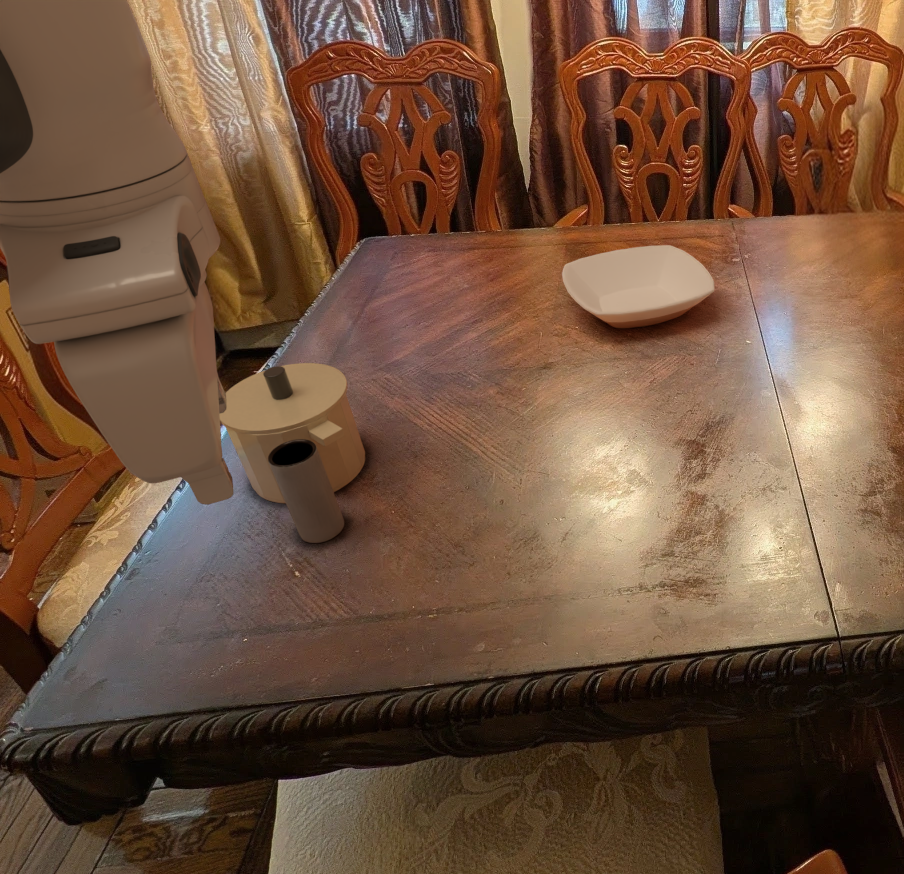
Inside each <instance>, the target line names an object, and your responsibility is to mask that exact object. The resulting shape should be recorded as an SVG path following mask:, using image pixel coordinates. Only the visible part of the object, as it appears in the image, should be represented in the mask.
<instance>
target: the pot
mask: <svg viewBox="0 0 904 874" xmlns="http://www.w3.org/2000/svg"><path fill="white" fill-rule="evenodd" d="M355 420H356V419H355V417H354V413H353V410H352V408H351V405H350V402H349V399H348V395H347V394H346V395H345V397H344V398H343V400H342V401H341V402H340V403H339V404H338V405H337V406H336V407H335V408H334V409H333V410H331V411H330V412H328V413H327V414H325V415H324V416H322V417H320V418H319V419H316V420H314V421H312V422H310V423H308V424H305V425H303V426H300V427H297V428H293V429H290V430H286V431H281V432H276V433H268V434H246V433H240V432H236V431H233V430H230V429H228V428H226V427H225V429H226V432H227V435H228V436H229V439H230V440H231V444H232V445H233V447H234V449H235V452H236V454H237V456H238V458H239V461H240V463H241V465H242V468H243V469H244V472H245V475H246V477H247V479H248V481H249V483H250V486H251V488H252V489H253V490H254V491H255V493H256V494H257V495H258V496H259V497H260V498H262V499H264V500H266V501H269V502H273V503H276V504H277V503H278V504H286V502H285V500H284V498H283V495H282V493H281V490H280V488H279V486H278V483H277V481H276V479H275V476H274V474H273V472H272V469H271V467H270V464H269V462H268V456H269V454H270V452H271V451H272V450H273V449H274V448H276V447H277V446H279V445H280V444H282V443H285V442H288V441H291V440H297V439H306V440H310V441H312V442H314V443H315V444H316V446H317V449H318V452H319V454H320V457H321V460H322V462H323V465H324V468H325V470H326V473H327V476H328V478H329V481H330V484H331V487H332V489H333V492H334V493H335V492H337V491H339V490H341V489H342V488H344V487H345V486H347V485H348V484H350V483H351V482H352V481H353V480H354V479H355V478H356V477H357V476H358V475H359V474H360V472H361V471H362V470H363V467H364V465H365V464H366V463H365V462H366V451H365V448H364V444H363V441H362V439H361V436H360V432H359V429H358V427H357V426H358V425H357V423H356V421H355Z"/></svg>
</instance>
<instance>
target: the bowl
mask: <svg viewBox="0 0 904 874" xmlns="http://www.w3.org/2000/svg"><path fill="white" fill-rule="evenodd" d="M561 277H562V283H563V285H564V287H565V290H566V291H567V294H569V296H570V297H571V298H572V299H573V300H574V302H576V303H577V305H579V306H580V307H581V308H582V309H583V310H585V311H587V312H588V313H590V314H592V315H593V316H594V317H596V318H598V319H599V320H601V321H603V322H604V323H606V324H608V325H609V326H611V327H613V328H616V329H632V328H633V329H634V328H642V327H649V326H653V325H658V324H661V323H665V322H668V321H671V320H673V319H677V318H679V317H681V316H683V315H684V314H685V313H687V312H688V311H690V310H691V309H692V308H694V307H695V306H696V305H698V304H699V303H701V302H702V301H704V300H705V299H706V298H707V297H709V296H710V295H712V294H713V293H714V292H715V288H716V287H715V280H714V278H713V276H712V274H711V273H710V272H709V270H708V269H707V268H706V267H705V266H704V264H703V263H701V261H699V260H698V259H696V258H695V257H694V256H693V255H692V254H689V253H688V252H687V251H685V250H683V249H681V248H678V247H675V246H673V245H670V244H665V245H664V244H663V245H658V244H657V245H646V246H636V247H629V248H621V249H615V250H611V251H606V252H601V253H597V254H593V255H589V256H584V257H581V258H578V259H575V260H573V261H570V262H568V263H566V264H564V265H563V268H562V271H561Z"/></svg>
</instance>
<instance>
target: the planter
mask: <svg viewBox="0 0 904 874" xmlns="http://www.w3.org/2000/svg"><path fill="white" fill-rule="evenodd" d="M268 462H269V464H270V467H271V469H272V472H273V474H274V476H275V479H276V481H277V483H278V486H279V488H280V490H281V493H282V495H283V498H284V500H285V502H286V503H285V504H286V507H287V509H288V511H289V514H290V516H291V519H292V521H293V523H294V526H295V528H296V531H297V532H298V535H299V537H300V538H301V540H303V541H304V542H306V543H309V544H320V543H324V542H327V541H330V540H332V539H334V538H335V537H337V536H338V535H339V534H340V533H341V532H342V531H343V529H344V527H345V519H344V516H343V514H342V510H341V508H340V506H339V502H338V500H337V497H336V494H335V492H333V489H332V487H331V484H330V481H329V478H328V476H327V473H326V470H325V468H324V465H323V462H322V460H321V457H320V454H319V452H318V449H317V446H316V444H315V443H314V442H312V441H310V440H306V439H297V440H291V441H288V442H285V443H282V444H280V445H279V446H277V447H276V448H274V449H273V450H272V451H271V452H270V454H269V456H268Z"/></svg>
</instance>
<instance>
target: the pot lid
mask: <svg viewBox="0 0 904 874" xmlns="http://www.w3.org/2000/svg"><path fill="white" fill-rule="evenodd" d="M348 386H349V385H348V381H347V378H346V376H345V373H343V372H342V371H341V370H339V369H338V368H337V367H333V366H331V365H327V364H324V363H317V362H315V363H314V362H300V363H299V362H298V363H290V364H284V365H279V366H277V365H276V366H272V367H269V368H267V369H265V370H262V371H259V372H257V373H255V374H252V375H250V376H248V377H246V378H244V379H242V380H240V381H238V383H236V384H234V385H233V386H231V387H230V388H229V389H228V390H227V391H225V394H226V403H227V408H226V410H225V411H224V413H220V424H221V425H223V426H224V427H225V429H226V428H228V429H230V430H233V431H236V432H240V433H246V434H268V433H276V432H281V431H286V430H290V429H293V428H297V427H300V426H303V425H305V424H308V423H310V422H312V421H314V420H316V419H319V418H320V417H322V416H324V415H325V414H327V413H328V412H330V411H331V410H333V409H334V408H335V407H336V406H337V405H338V404H339V403H340V402H341V401H342V400H343V398H344V397H345V395H346V396H347V393H348V389H349V387H348Z"/></svg>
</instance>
